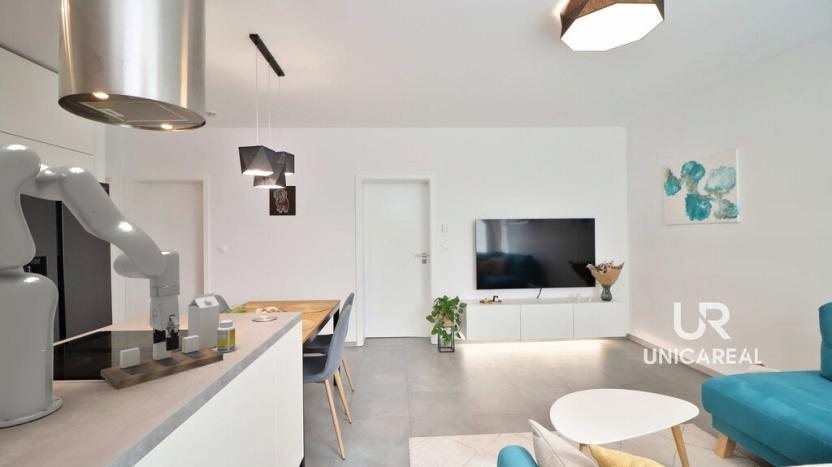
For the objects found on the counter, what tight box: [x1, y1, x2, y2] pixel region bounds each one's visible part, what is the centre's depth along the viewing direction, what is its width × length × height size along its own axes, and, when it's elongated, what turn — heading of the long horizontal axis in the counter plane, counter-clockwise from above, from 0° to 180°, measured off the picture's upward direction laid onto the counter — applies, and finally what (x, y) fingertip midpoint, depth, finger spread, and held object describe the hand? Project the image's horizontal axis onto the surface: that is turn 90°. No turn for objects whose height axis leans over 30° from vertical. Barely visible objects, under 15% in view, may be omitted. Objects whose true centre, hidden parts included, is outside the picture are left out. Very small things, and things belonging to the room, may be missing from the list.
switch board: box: [100, 346, 224, 390], centre depth 107 cm, size 27×14×2 cm, turn 145°
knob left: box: [119, 346, 141, 368], centre depth 103 cm, size 4×2×4 cm, turn 145°
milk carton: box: [187, 292, 221, 349], centre depth 128 cm, size 7×7×19 cm
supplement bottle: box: [216, 319, 236, 353], centre depth 124 cm, size 6×6×10 cm
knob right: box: [181, 335, 199, 353], centre depth 116 cm, size 4×2×4 cm, turn 145°
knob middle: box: [152, 341, 172, 360], centre depth 109 cm, size 4×2×4 cm, turn 145°
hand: (165, 346), depth 109 cm, fingers open, 9 cm apart
